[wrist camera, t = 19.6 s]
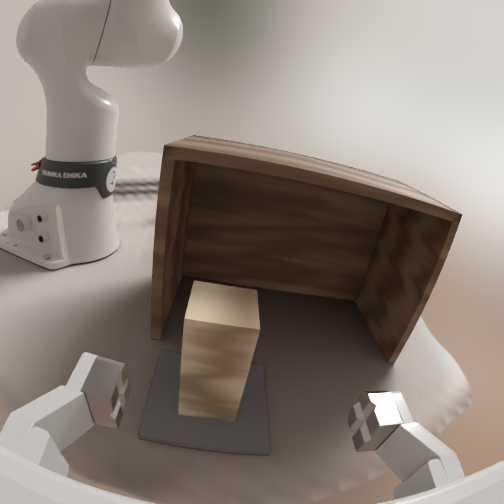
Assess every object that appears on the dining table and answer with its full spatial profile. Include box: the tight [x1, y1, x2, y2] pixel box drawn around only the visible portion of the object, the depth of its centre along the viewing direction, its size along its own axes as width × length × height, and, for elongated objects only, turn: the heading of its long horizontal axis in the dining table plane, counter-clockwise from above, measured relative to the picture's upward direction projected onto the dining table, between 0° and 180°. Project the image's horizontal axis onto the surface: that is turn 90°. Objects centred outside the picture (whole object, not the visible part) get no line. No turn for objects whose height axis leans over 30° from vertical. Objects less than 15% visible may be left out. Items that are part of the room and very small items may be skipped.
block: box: [178, 280, 260, 422], centre depth 22 cm, size 4×4×10 cm
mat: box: [138, 350, 271, 455], centre depth 24 cm, size 10×10×1 cm
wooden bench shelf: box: [151, 135, 462, 363], centre depth 34 cm, size 15×28×19 cm, turn 92°
